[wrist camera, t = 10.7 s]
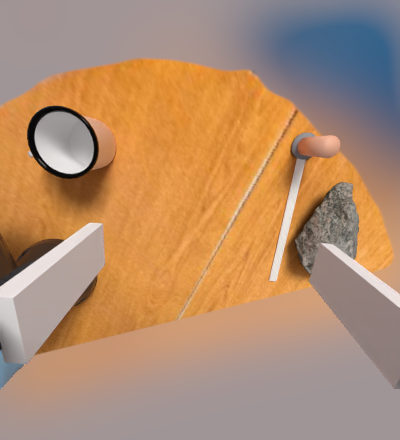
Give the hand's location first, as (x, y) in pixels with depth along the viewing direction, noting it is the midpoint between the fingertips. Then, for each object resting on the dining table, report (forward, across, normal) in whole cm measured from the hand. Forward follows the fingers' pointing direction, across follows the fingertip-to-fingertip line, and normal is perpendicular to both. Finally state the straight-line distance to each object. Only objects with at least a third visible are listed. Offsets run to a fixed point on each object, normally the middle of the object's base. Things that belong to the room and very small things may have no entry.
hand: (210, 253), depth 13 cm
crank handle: (+29, +17, -5) cm, 34 cm away
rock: (+29, +24, -7) cm, 38 cm away
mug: (+29, -21, +4) cm, 36 cm away
